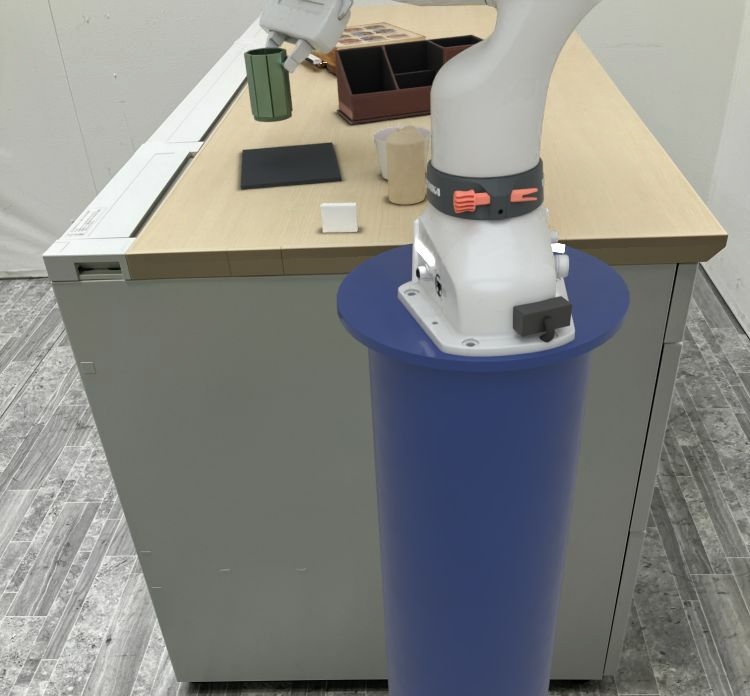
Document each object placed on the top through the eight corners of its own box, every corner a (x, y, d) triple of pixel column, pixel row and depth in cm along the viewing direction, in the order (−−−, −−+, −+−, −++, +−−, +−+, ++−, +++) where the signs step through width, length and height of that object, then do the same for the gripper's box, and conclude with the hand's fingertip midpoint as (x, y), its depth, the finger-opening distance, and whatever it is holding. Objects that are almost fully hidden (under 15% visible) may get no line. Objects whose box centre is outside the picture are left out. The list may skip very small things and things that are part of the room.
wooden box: (292, 61, 208) (327, 80, 187) (289, 32, 204) (324, 49, 183) (382, 49, 214) (426, 67, 194) (381, 21, 210) (426, 36, 190)
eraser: (323, 229, 116) (321, 203, 113) (358, 228, 115) (356, 202, 113) (322, 232, 115) (320, 206, 112) (357, 232, 114) (355, 205, 112)
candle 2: (373, 168, 136) (371, 128, 132) (428, 165, 136) (427, 124, 132) (376, 186, 129) (374, 144, 125) (434, 182, 129) (433, 140, 125)
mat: (341, 180, 132) (341, 177, 131) (241, 189, 131) (240, 185, 130) (332, 145, 147) (332, 142, 147) (242, 153, 146) (242, 149, 146)
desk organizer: (492, 106, 163) (494, 42, 156) (350, 125, 157) (346, 59, 150) (471, 94, 171) (473, 33, 164) (336, 112, 165) (331, 49, 158)
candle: (406, 190, 127) (404, 120, 120) (432, 197, 123) (432, 126, 117) (380, 199, 124) (377, 129, 118) (407, 207, 121) (405, 135, 114)
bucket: (247, 117, 134) (281, 110, 136) (264, 124, 130) (298, 117, 132) (238, 51, 128) (274, 45, 130) (255, 57, 124) (292, 51, 126)
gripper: (372, 7, 122) (320, 90, 124) (308, -6, 136) (262, 69, 138) (343, -25, 117) (290, 62, 120) (280, -35, 131) (234, 43, 134)
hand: (275, 66), depth 129 cm, fingers closed on bucket, 6 cm apart
